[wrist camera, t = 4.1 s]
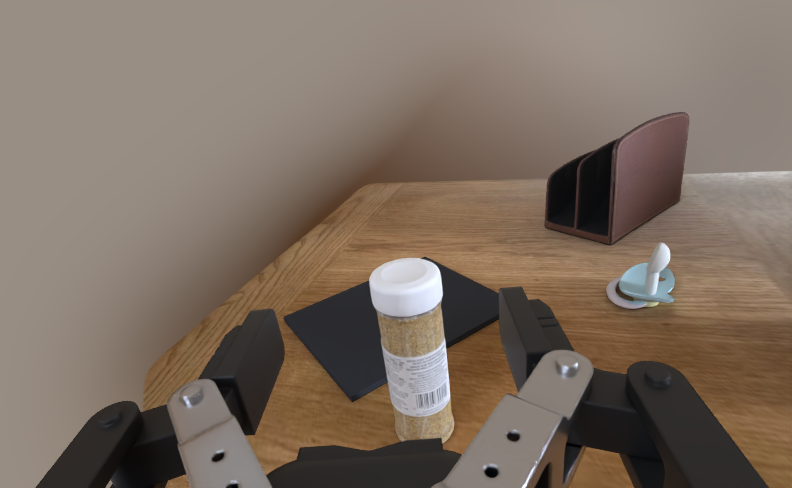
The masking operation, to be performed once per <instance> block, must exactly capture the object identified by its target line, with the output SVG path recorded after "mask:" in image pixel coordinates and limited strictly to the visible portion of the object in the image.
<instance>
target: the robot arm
mask: <svg viewBox="0 0 792 488" xmlns="http://www.w3.org/2000/svg"><path fill="white" fill-rule="evenodd" d="M499 321H500V335H501V340H502V344H503V347H504V350H505V353H506V356H507V359H508V362H509V366H510V369H511V372H512V375H513V378H514V381H515V384H516V387H517V390H518V394H517V395H516V396H514V395H512V394H509V393H508V394H506V395H505V396H504V397H503V398H502V399H501V401H500V402H499V404H498V405H497V407H496V408H495V409H494V411H493V412H492V414H491V415H490V416H489V418H488V419H487V421H486V422H485V423H484V425H483V426H482V428H481V429H480V431H479V432H478V433H477V435H476V436H475V438H474V439H473V440H472V442H471V443H470V445H469V446H468V447H467V449H466V450H465V452H464V453H463V455H462V454H459V453H456V452H453V451H449V450H443V446H442V438H432V439H418V440H406V441H402V442H399V443H395V444H392V445H388V446H385V447H382V448H378V449H375V450H371V451H366V450H360V449H353V448H347V447H341V446H335V445H332V446H317V447H303V448H300V449H299V453H298V457H297V460H295V461H292V462H289V463H287V464H284V465H282V466H281V467H279V468H277V469H275V470H274V471H272V472H270V473H269V474H268V475H265V473H264V471H263V469H262V467H261V465H260V463H259V461H258V459H257V458H256V456H255V454H254V452H253V450H252V448H251V446H250V444H249V442H248V440H247V438H246V437H245V435H255V433H256V430H257V428H258V425H259V423H260V420H261V418H262V415H263V412H264V410H265V407H266V405H267V402H268V400H269V397H270V394H271V392H272V389H273V387H274V384H275V382H276V379H277V377H278V374H279V371H280V369H281V366H282V364H283V361H284V354H285V351H284V343H283V339H282V336H281V332H280V329H279V325H278V321H277V318H276V314H275V312H274V310H273V309H264V310H253V311H250V312H249V314H248V316H247V317H246V319H245V321H244V322H243V324H242V325H239V326H236V327H235V328H234V329H232V330H231V331H230V332H229V333H228V334H226V335H225V337H224V339H223V340H222V342H221V343H220V347H218V348H217V350H216V351H215V355H213V356H212V358H211V359H210V361H209V362H208V364H207V366H206V367H205V369H204V370H203V372H202V374H201V375H200V377H199V378H198V380H195V381H191V382H189V383H187V384H185V385H183V386H181V387H180V388H178V389H177V390H176V391H175V392H174V393H173V394H172V395H171V396H170V397H169V399H168V401H167V404H166V405H163V406H160V407H157V408H153V409H150V410H147V411H144V412H140V410H139V408H138V406H137V404H136V403H134V402H132V401H122V402H118V403H115V404H112V405H110V406H107V407H105V408H104V409H102V410H100V411H99V412H97V413H96V414H95V415H94V416H92V417H91V418H90V419H89V420H88V422H87V423H86V424H85V425H84V427H83V428H82V429H81V430H80V432H79V433H78V434H77V435H76V437H75V438H74V439H73V441H72V442H71V443H70V444H69V446H68V447H67V448H66V450H65V451H64V452H63V453H62V455H61V456H60V457H59V458H58V460H57V461H56V463H55V464H54V465H53V466H52V467H51V469H50V470H49V471H48V472H47V474H46V475H45V476H44V478H43V479H42V480H41V481H40V483H39V484H38V485H37V486H36V488H105V487H106V485H107V484H108V482H109V481H110V479H111V481H112V483H113V484H112V485H111V487H110V488H165V486H166V484H167V482H168V480H171V479H173V478H176V477H179V476H182V475H185V474H187V477H188V481H189V484H190V487H191V488H569V486H570V483H571V481H572V479H573V477H574V474H575V472H576V470H577V468H578V465H579V463H580V461H581V458H582V456H583V454H584V452H585V449H586V447H590V448H595V449H600V450H605V451H610V452H615V453H619V455H620V457H621V459H622V461H623V463H624V466H625V468H626V470H627V472H628V474H629V477H630V479H631V481H632V483H633V485H634V488H769V487H768V486H767V485H766V483H765V482H764V481H763V479H762V478H761V477H760V475H759V474H758V473H757V471H756V470H755V469H754V467H753V466H752V465H751V464H750V462H749V461H748V460H747V458H746V457H745V456H744V454H743V453H742V452H741V450H740V449H739V448H738V446H737V445H736V444H735V442H734V441H733V440H732V438H731V437H730V436H729V434H728V433H727V432H726V431H725V429H724V428H723V427H722V425H721V424H720V423H719V421H718V420H717V419H716V417H715V416H714V415H713V413H712V412H711V411H710V409H709V408H708V407H707V405H706V404H705V403H704V401H703V400H702V399H701V397H700V396H699V395H698V394H697V392H696V391H695V390H694V388H693V387H692V386H691V384H690V383H689V382H688V380H687V379H686V378H685V377H684V375H683V374H682V373H680V372H679V371H678V370H676V369H675V368H673V367H671V366H668V365H666V364H663V363H659V362H654V361H640V362H636V363H634V364H632V365H631V366H630V367H629V368H628V370H627V374H621V373H614V372H607V371H602V370H599V369H596V368H593V365H592V363H591V362H590V361H589V360H588V359H587V358H586V357H585V356H583V355H581V354H579V353H577V352H575V351H574V349H573V348H572V346H571V344H570V342H569V341H568V339H567V337H566V335H565V333H564V332H563V330H562V328H561V326H559V323H558V321H557V319H556V318H555V316H554V314H553V312H552V310H551V308H550V307H549V306H548V305H546V304H545V303H543V302H542V301H541V300H539V299H536V300H528V299H527V296H526V294H525V292H524V290H523V288H522V287H510V288H500V289H499Z"/></svg>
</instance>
